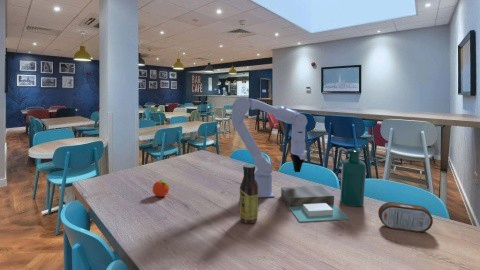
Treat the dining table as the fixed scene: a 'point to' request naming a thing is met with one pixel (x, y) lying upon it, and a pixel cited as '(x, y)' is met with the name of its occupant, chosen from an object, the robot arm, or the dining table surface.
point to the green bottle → (352, 179)
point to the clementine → (160, 188)
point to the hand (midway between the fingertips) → (297, 171)
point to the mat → (303, 217)
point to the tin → (405, 217)
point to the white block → (317, 209)
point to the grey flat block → (306, 195)
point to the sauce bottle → (249, 195)
